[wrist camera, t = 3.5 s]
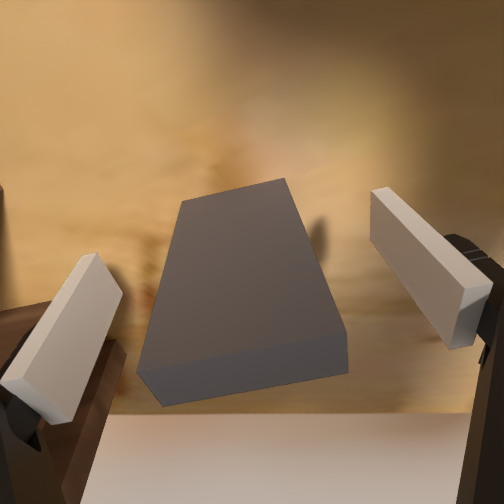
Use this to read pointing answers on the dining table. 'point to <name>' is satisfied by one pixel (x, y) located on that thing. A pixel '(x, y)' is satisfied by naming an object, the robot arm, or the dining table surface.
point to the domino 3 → (240, 301)
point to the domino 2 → (85, 424)
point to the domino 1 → (18, 330)
